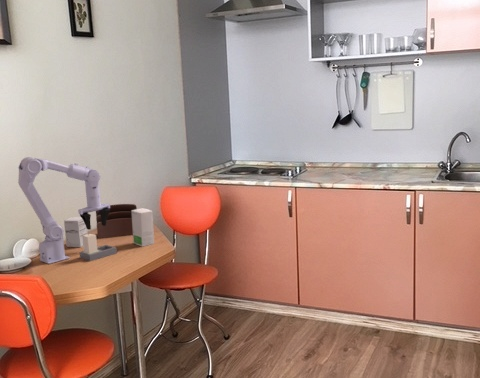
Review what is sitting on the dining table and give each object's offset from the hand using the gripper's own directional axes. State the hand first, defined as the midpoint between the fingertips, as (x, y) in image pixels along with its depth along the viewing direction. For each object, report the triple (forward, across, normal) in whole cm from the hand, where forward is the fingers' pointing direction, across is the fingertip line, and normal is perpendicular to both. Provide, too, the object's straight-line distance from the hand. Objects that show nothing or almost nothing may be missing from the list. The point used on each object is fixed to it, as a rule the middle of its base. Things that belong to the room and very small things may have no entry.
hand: (96, 227), depth 235 cm
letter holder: (+11, +22, +17) cm, 29 cm away
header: (+10, -4, -7) cm, 13 cm away
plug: (+8, -8, -7) cm, 13 cm away
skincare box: (+11, +18, -9) cm, 23 cm away
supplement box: (+11, -1, +16) cm, 19 cm away
